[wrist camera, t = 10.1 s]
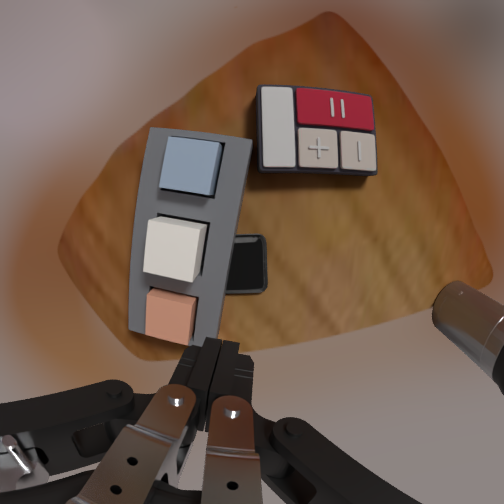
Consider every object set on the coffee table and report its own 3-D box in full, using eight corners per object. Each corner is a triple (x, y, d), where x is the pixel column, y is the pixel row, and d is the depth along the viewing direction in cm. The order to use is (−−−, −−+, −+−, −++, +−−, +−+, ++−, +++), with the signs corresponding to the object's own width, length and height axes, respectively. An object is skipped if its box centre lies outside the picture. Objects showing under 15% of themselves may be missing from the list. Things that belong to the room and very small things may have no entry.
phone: (152, 239, 35) (266, 234, 35) (155, 237, 36) (265, 232, 36) (159, 294, 37) (267, 293, 36) (162, 292, 38) (267, 290, 37)
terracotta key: (198, 293, 34) (192, 305, 30) (194, 330, 35) (187, 345, 32) (157, 283, 34) (146, 294, 30) (155, 321, 35) (145, 334, 31)
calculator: (380, 175, 30) (259, 170, 30) (366, 176, 34) (257, 173, 34) (375, 93, 28) (257, 81, 27) (361, 102, 32) (255, 93, 32)
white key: (207, 224, 31) (200, 229, 27) (199, 271, 32) (192, 282, 28) (160, 216, 30) (148, 219, 27) (155, 262, 32) (143, 271, 28)
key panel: (253, 147, 33) (252, 139, 28) (218, 332, 39) (213, 351, 34) (164, 134, 33) (150, 127, 28) (141, 314, 38) (128, 329, 33)
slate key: (223, 148, 30) (219, 142, 26) (214, 194, 31) (208, 195, 28) (178, 142, 30) (168, 136, 26) (169, 187, 31) (158, 187, 28)
